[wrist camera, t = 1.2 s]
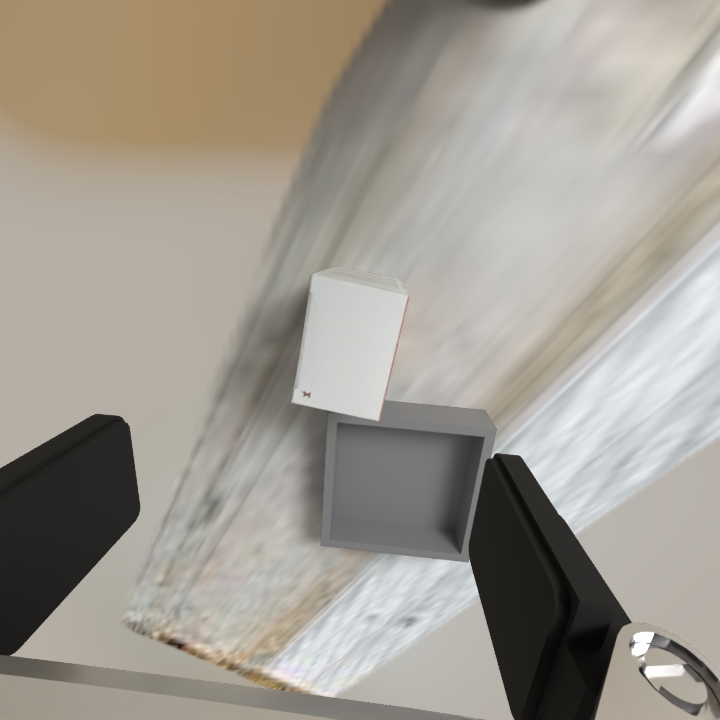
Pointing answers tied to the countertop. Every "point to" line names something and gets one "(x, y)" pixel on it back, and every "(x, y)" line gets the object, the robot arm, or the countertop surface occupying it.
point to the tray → (405, 479)
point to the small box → (349, 341)
